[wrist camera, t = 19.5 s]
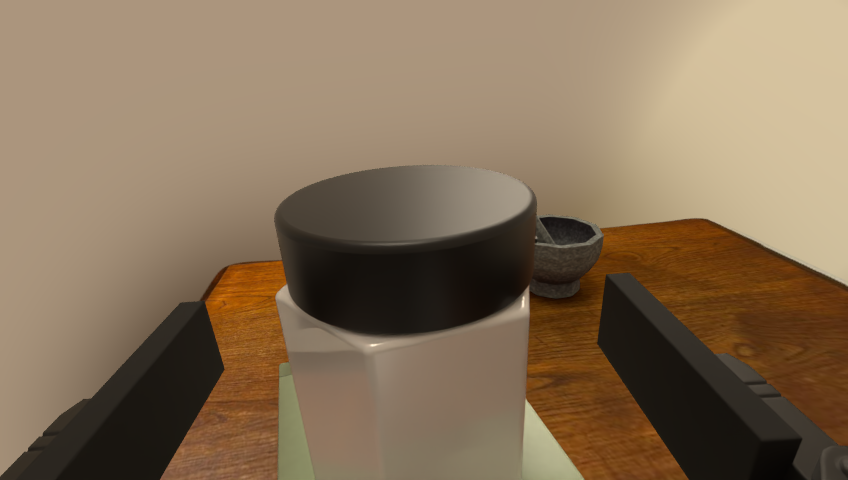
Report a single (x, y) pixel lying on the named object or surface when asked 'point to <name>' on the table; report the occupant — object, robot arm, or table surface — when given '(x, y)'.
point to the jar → (409, 321)
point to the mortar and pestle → (563, 254)
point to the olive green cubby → (541, 463)
